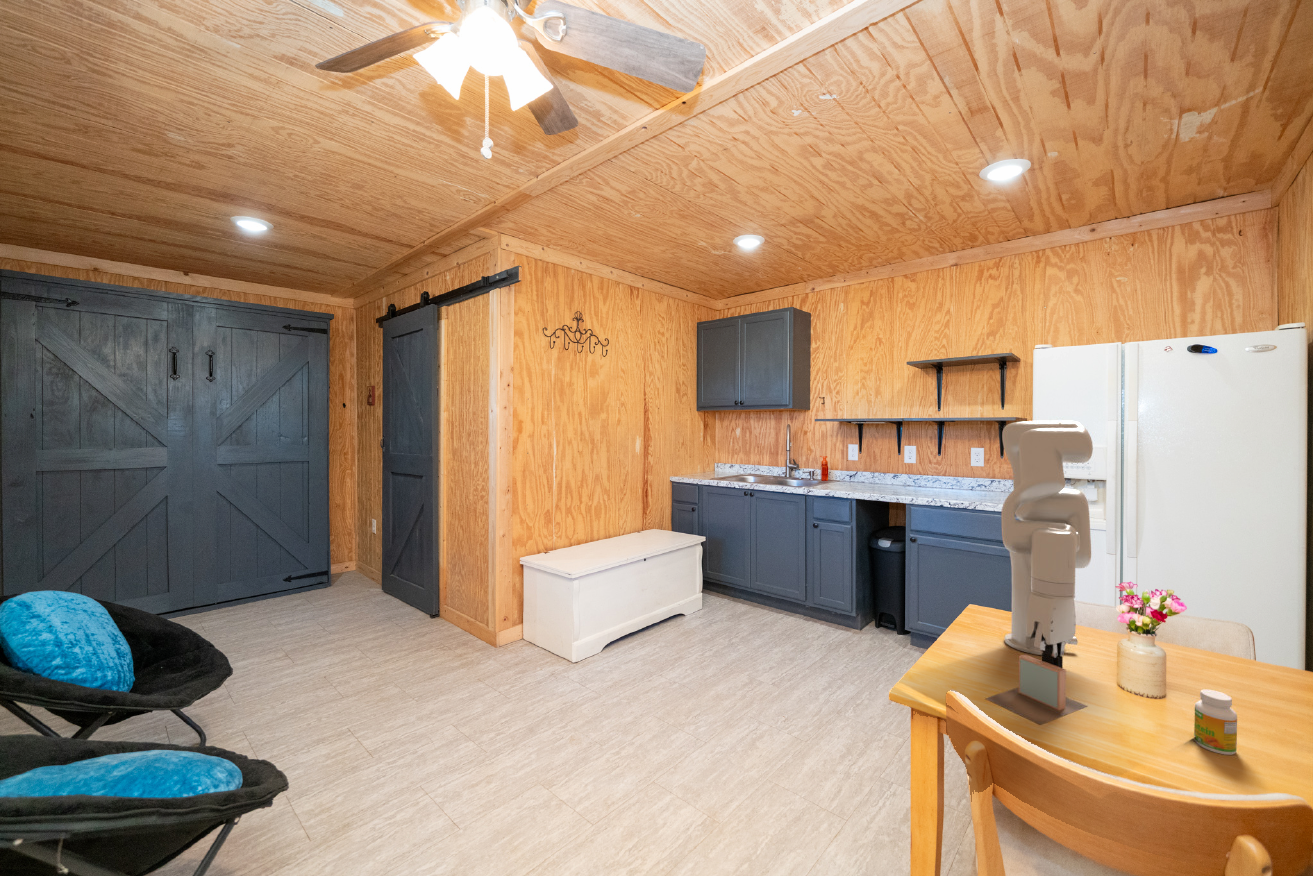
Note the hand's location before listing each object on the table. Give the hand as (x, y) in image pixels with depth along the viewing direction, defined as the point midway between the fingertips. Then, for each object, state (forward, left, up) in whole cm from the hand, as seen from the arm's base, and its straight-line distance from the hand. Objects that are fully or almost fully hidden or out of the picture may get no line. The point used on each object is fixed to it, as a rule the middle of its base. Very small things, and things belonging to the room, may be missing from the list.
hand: (1051, 672), depth 113 cm
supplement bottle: (-22, +10, -7) cm, 25 cm away
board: (+4, +3, -7) cm, 8 cm away
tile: (+3, +2, -5) cm, 6 cm away
